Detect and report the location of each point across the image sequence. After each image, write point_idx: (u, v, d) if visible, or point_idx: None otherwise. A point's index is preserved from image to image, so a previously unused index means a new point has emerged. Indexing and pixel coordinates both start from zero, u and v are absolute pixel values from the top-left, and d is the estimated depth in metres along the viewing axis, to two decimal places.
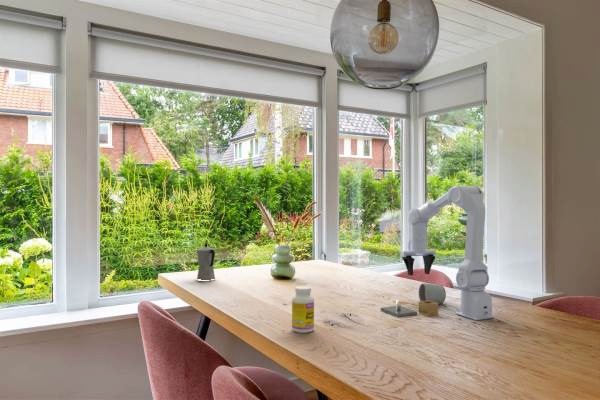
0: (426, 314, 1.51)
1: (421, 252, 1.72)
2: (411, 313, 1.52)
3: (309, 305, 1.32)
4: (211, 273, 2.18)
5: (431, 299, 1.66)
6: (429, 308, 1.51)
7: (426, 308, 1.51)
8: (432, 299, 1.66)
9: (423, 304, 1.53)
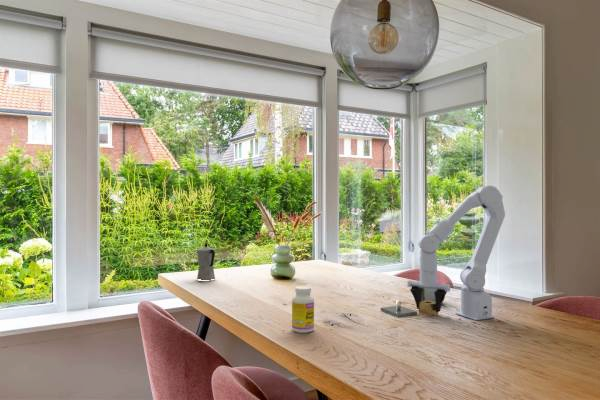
0: (426, 314, 1.51)
1: (422, 284, 1.52)
2: (411, 313, 1.52)
3: (309, 305, 1.32)
4: (211, 273, 2.18)
5: (430, 299, 1.66)
6: (429, 308, 1.51)
7: (426, 308, 1.51)
8: (431, 299, 1.67)
9: (423, 304, 1.53)
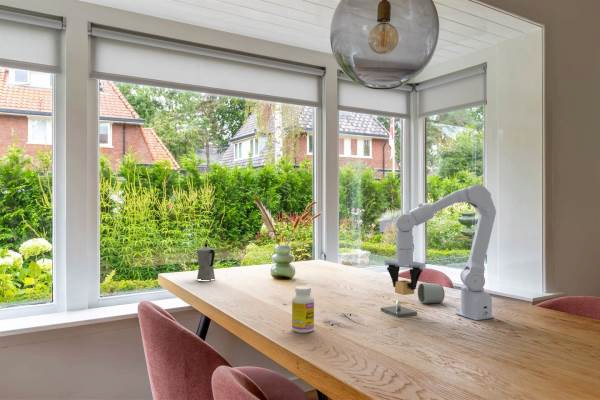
0: (402, 293, 1.53)
1: (398, 263, 1.54)
2: (411, 313, 1.52)
3: (309, 305, 1.32)
4: (211, 273, 2.18)
5: (430, 298, 1.67)
6: (405, 287, 1.53)
7: (402, 287, 1.53)
8: (431, 298, 1.67)
9: (399, 283, 1.54)
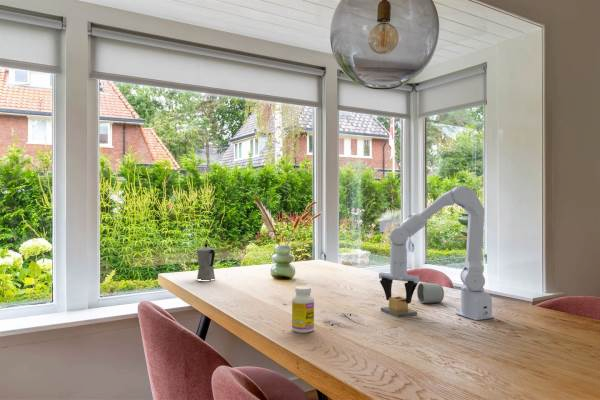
0: (396, 310, 1.53)
1: (392, 276, 1.54)
2: (411, 313, 1.52)
3: (309, 305, 1.32)
4: (211, 273, 2.18)
5: (429, 298, 1.67)
6: (399, 304, 1.53)
7: (396, 304, 1.53)
8: (430, 298, 1.67)
9: (393, 300, 1.55)
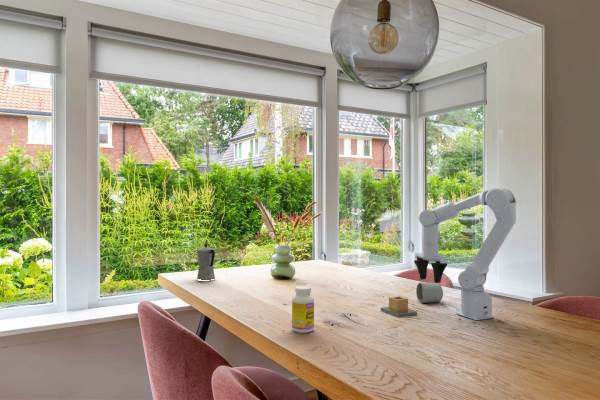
0: (396, 310, 1.53)
1: (422, 256, 1.61)
2: (411, 313, 1.52)
3: (309, 305, 1.32)
4: (211, 273, 2.18)
5: (428, 298, 1.68)
6: (399, 304, 1.53)
7: (396, 304, 1.53)
8: (429, 298, 1.68)
9: (393, 300, 1.55)
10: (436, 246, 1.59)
